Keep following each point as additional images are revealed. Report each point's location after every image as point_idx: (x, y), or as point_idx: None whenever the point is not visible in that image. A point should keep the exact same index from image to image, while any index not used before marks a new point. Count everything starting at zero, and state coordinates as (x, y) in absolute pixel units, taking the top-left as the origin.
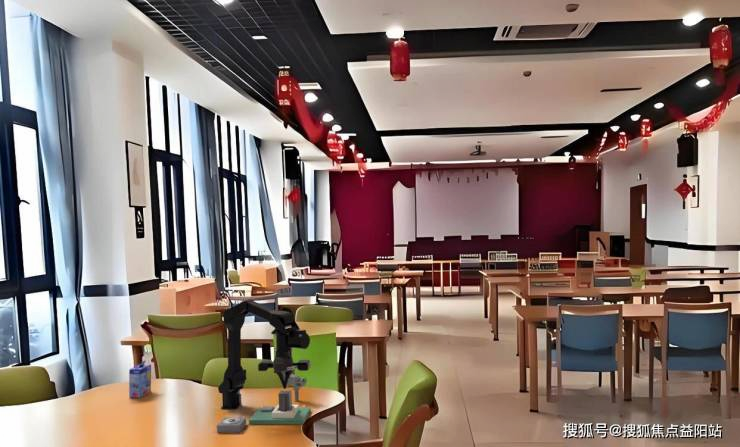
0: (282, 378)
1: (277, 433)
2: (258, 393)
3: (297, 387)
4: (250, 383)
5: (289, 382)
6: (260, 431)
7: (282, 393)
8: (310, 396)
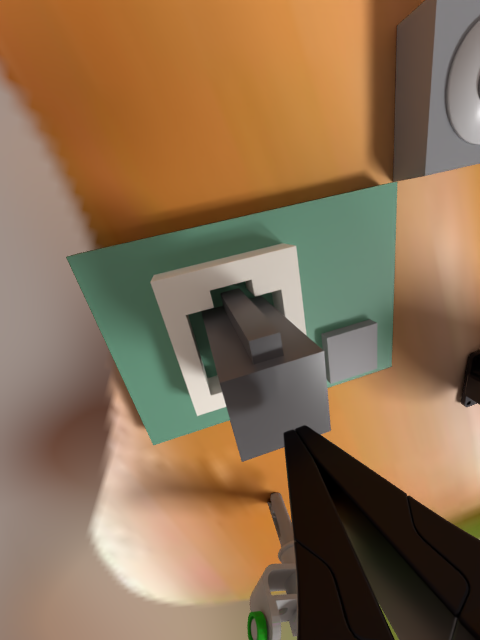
0: (407, 544)
1: (152, 37)
2: (424, 496)
3: (288, 561)
4: None
5: None
6: (281, 68)
7: (289, 368)
8: (241, 545)
